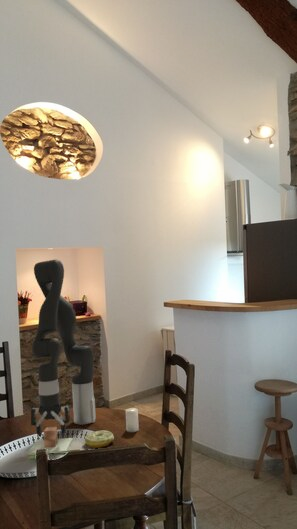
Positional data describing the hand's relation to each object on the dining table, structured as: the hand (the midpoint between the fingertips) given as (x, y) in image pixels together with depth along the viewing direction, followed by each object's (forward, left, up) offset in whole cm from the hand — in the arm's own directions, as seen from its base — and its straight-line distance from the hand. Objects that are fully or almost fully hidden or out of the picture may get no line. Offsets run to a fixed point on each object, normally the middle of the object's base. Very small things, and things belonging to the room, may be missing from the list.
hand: (51, 435), depth 155 cm
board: (0, 0, -5) cm, 5 cm away
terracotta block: (0, 0, -4) cm, 4 cm away
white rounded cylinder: (-30, -14, -5) cm, 33 cm away
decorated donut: (-18, -2, -5) cm, 19 cm away
